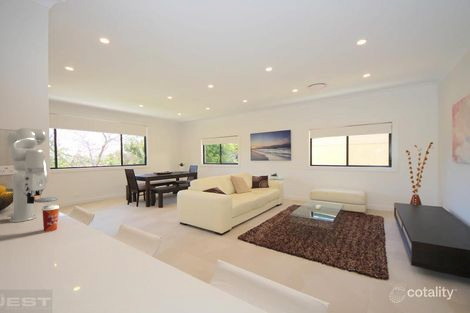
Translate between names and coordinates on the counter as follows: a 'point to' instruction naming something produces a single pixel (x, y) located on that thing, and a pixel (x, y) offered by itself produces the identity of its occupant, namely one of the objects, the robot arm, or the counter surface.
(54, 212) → the paper cup
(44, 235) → the counter surface
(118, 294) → the counter surface
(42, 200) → the gray paddle
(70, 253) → the counter surface
